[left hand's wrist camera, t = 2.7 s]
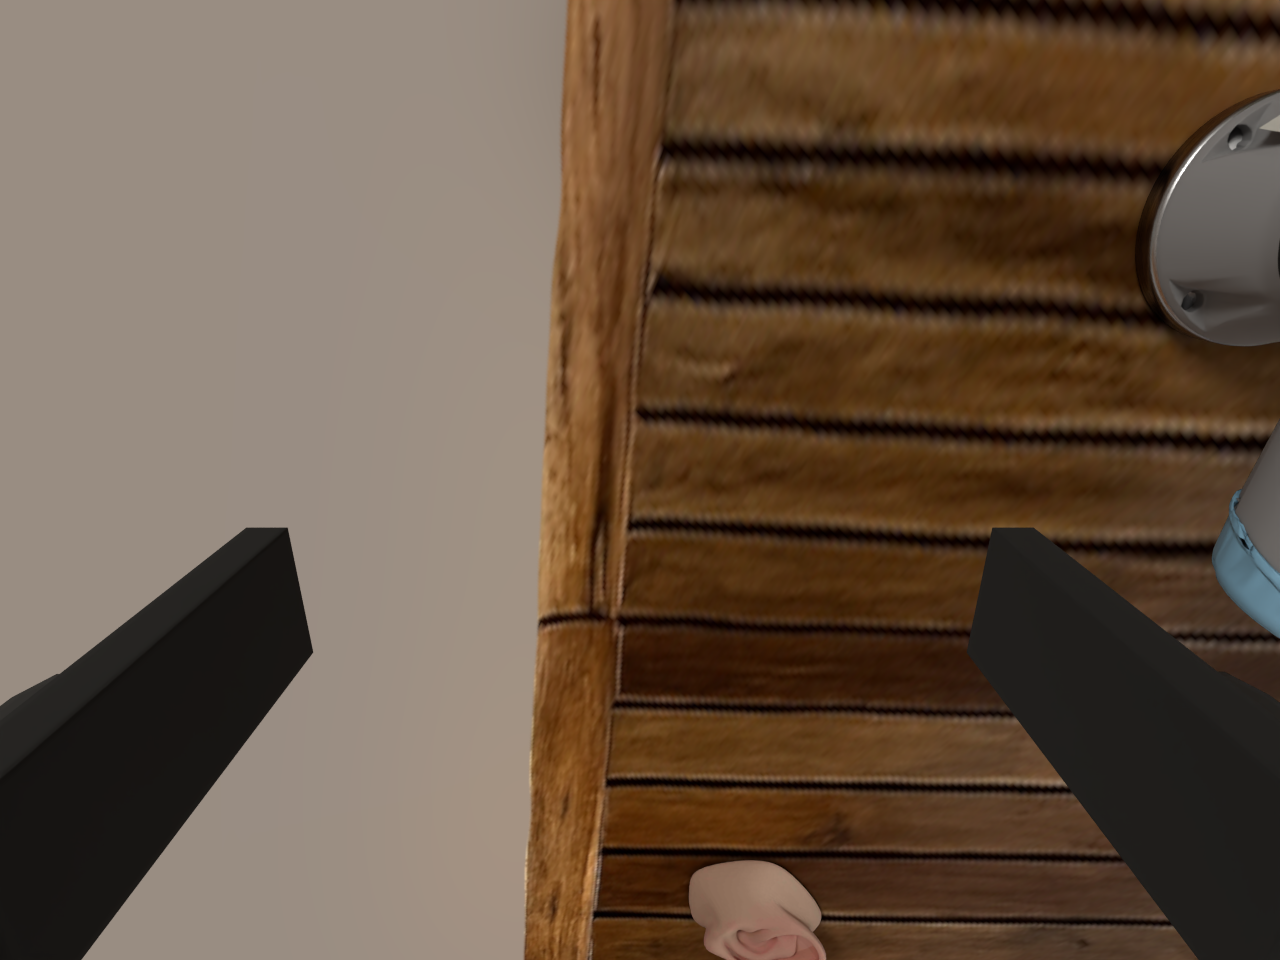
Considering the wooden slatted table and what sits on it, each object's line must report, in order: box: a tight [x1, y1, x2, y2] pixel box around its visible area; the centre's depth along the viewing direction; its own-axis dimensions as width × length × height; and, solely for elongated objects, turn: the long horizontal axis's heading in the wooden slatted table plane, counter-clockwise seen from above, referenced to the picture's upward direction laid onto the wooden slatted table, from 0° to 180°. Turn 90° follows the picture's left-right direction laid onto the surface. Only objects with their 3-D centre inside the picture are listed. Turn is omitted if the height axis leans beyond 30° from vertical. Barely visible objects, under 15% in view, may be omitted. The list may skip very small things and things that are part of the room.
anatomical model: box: [689, 860, 826, 960], centre depth 64 cm, size 13×4×12 cm
